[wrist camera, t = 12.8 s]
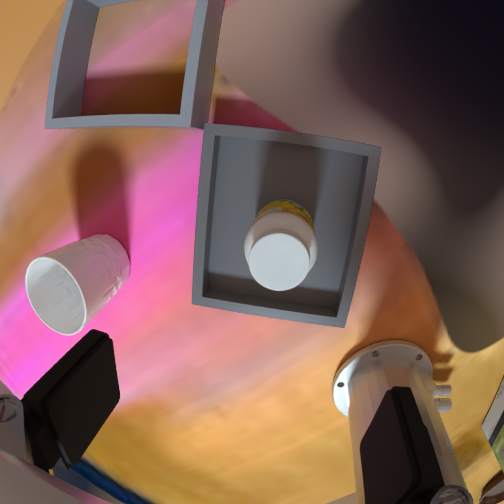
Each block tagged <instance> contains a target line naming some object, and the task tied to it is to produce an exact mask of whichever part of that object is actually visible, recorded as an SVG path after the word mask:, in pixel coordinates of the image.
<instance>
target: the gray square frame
mask: <svg viewBox="0 0 504 504" xmlns="http://www.w3.org/2000/svg"><path fill="white" fill-rule="evenodd" d="M130 1H136V0H67V2H66V6H65V9H64V13H63V17H62V21H61V25H60V29H59V34H58V38H57V43H56V48H55V53H54V58H53V64H52V70H51V76H50V83H49V90H48V98H47V107H46V118H45V129H84V128H174V129H195V130H204V125H205V123H208V118H209V109H210V101H211V93H212V85H213V77H214V69H215V62H216V55H217V48H218V41H219V34H220V28H221V21H222V15H223V9H224V3H225V0H197V3H196V8H195V14H194V19H193V25H192V31H191V37H190V43H189V50H188V56H187V63H186V70H185V77H184V85H183V93H182V101H181V110H180V115H179V114H118V115H94V116H81V110H82V101H83V93H84V85H85V78H86V72H87V65H88V59H89V54H90V48H91V43H92V38H93V33H94V29H95V24H96V20H97V15H98V11H99V8H100V7H104V6H109V5H114V4H119V3H124V2H130Z"/></svg>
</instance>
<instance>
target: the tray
mask: <svg viewBox="0 0 504 504" xmlns="http://www.w3.org/2000/svg"><path fill="white" fill-rule="evenodd" d="M380 154H381V147H378V146H373V145H368V144H364V143H359V142H353V141H348V140H342V139H336V138H331V137H325V136H318V135H312V134H305V133H298V132H291V131H283V130H275V129H266V128H257V127H247V126H236V125H223V124H209V123H205V125H204V134H203V144H202V154H201V165H200V176H199V188H198V200H197V214H196V228H195V245H194V263H193V284H192V304H194V305H199V306H205V307H210V308H216V309H221V310H227V311H233V312H239V313H245V314H251V315H257V316H263V317H269V318H276V319H283V320H289V321H296V322H303V323H310V324H318V325H325V326H333V327H341V328H344V327H345V324H346V320H347V316H348V312H349V309H350V305H351V301H352V297H353V293H354V289H355V285H356V281H357V277H358V272H359V268H360V264H361V259H362V255H363V250H364V245H365V241H366V236H367V231H368V226H369V220H370V215H371V210H372V204H373V199H374V193H375V186H376V181H377V173H378V167H379V161H380ZM281 199H286V200H290V201H293V202H296V203H298V204H299V205H301V206H302V207H304V208H305V209H306V210H307V212H308V213H309V215H310V217H311V219H312V222H313V226H314V231H315V235H316V239H317V246H318V251H317V257H316V260H315V263H314V265H313V267H312V268H311V270H310V271H309V272H308V273H307V275H306V277H305V278H304V280H303V281H302V282H301V283H300V284H299V285H297V286H295V287H294V288H291V289H288V290H283V291H276V290H271V289H268V288H266V287H264V286H262V285H261V284H259V283H258V282H257V281H256V280H255V279H254V277H253V276H252V274H251V272H250V269H249V265H248V263H247V260H246V257H245V252H244V243H245V238H246V235H247V233H248V231H249V229H250V227H251V225H252V223H253V222H254V220H255V218H256V216H257V214H258V213H259V211H260V210H261V209H262V208H263V207H264V206H265V205H267V204H268V203H270V202H272V201H275V200H281Z"/></svg>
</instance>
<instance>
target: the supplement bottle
mask: <svg viewBox="0 0 504 504" xmlns="http://www.w3.org/2000/svg"><path fill="white" fill-rule="evenodd" d="M317 251H318V246H317V239H316V235H315V231H314V226H313V222H312V219H311V217H310V215H309V213H308V212H307V210H306V209H305V208H304V207H302V206H301V205H299V204H298V203H296V202H293V201H290V200H286V199H281V200H275V201H272V202H270V203H268V204H267V205H265V206H264V207H263V208H262V209H261V210H260V211H259V213H258V214H257V216H256V218H255V220H254V222H253V223H252V225H251V227H250V229H249V231H248V233H247V235H246V238H245V243H244V252H245V257H246V260H247V263H248V265H249V269H250V272H251V274H252V276H253V277H254V279H255V280H256V281H257V282H258V283H259V284H261V285H262V286H264V287H266V288H268V289H271V290H276V291H283V290H288V289H291V288H294V287H295V286H297V285H299V284H300V283H301V282H302V281H303V280H304V278H305V277H306V275H307V273H308V272H309V271H310V270H311V268H312V267H313V265H314V263H315V260H316V257H317Z"/></svg>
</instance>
